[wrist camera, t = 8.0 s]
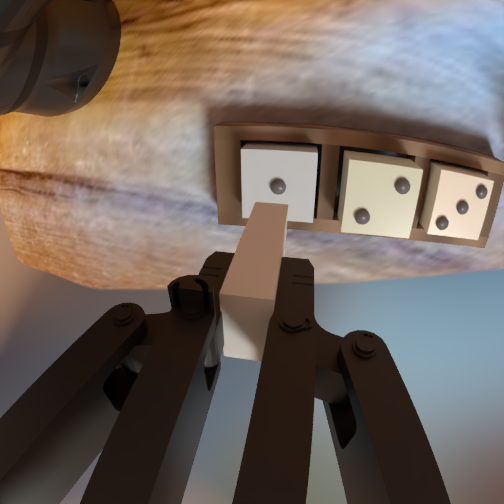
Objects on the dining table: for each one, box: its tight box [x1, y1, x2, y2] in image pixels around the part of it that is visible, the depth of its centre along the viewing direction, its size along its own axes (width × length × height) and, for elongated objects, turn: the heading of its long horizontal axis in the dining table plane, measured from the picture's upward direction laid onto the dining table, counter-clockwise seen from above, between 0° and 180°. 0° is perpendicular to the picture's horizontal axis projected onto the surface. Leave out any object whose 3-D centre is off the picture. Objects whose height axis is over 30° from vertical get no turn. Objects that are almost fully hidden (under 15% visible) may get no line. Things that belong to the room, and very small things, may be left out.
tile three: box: [418, 160, 494, 240], centre depth 22 cm, size 6×6×3 cm
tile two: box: [337, 150, 423, 239], centre depth 22 cm, size 6×6×3 cm
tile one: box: [241, 142, 318, 223], centre depth 25 cm, size 6×6×3 cm
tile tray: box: [214, 122, 504, 248], centre depth 25 cm, size 27×9×2 cm, turn 90°
